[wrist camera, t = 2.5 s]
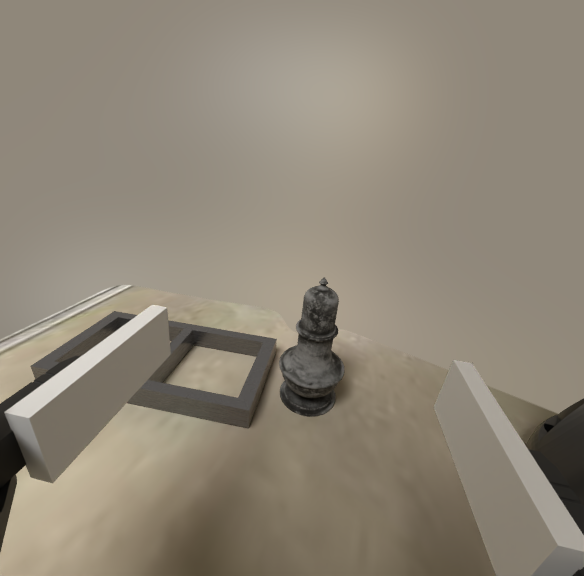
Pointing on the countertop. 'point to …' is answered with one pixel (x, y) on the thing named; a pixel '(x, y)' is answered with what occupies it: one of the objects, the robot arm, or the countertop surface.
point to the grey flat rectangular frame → (182, 341)
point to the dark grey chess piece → (313, 356)
